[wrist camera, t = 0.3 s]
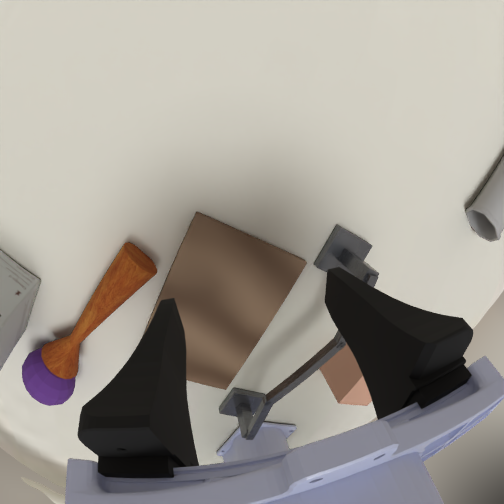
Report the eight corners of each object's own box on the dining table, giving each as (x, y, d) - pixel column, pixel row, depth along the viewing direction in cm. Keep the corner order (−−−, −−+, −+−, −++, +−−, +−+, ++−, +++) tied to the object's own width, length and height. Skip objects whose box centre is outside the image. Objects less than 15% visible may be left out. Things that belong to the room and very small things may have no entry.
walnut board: (225, 385, 29) (225, 389, 29) (134, 359, 26) (133, 363, 25) (304, 259, 25) (307, 262, 25) (196, 211, 22) (196, 213, 21)
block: (345, 370, 32) (367, 405, 27) (317, 365, 31) (338, 403, 25) (367, 342, 31) (393, 376, 26) (340, 334, 30) (366, 371, 24)
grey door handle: (248, 413, 32) (257, 448, 27) (218, 408, 31) (224, 445, 26) (367, 242, 26) (401, 266, 21) (336, 224, 25) (369, 247, 20)
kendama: (175, 300, 20) (61, 422, 21) (165, 261, 25) (64, 381, 26) (107, 252, 17) (11, 398, 18) (112, 220, 22) (21, 357, 23)
